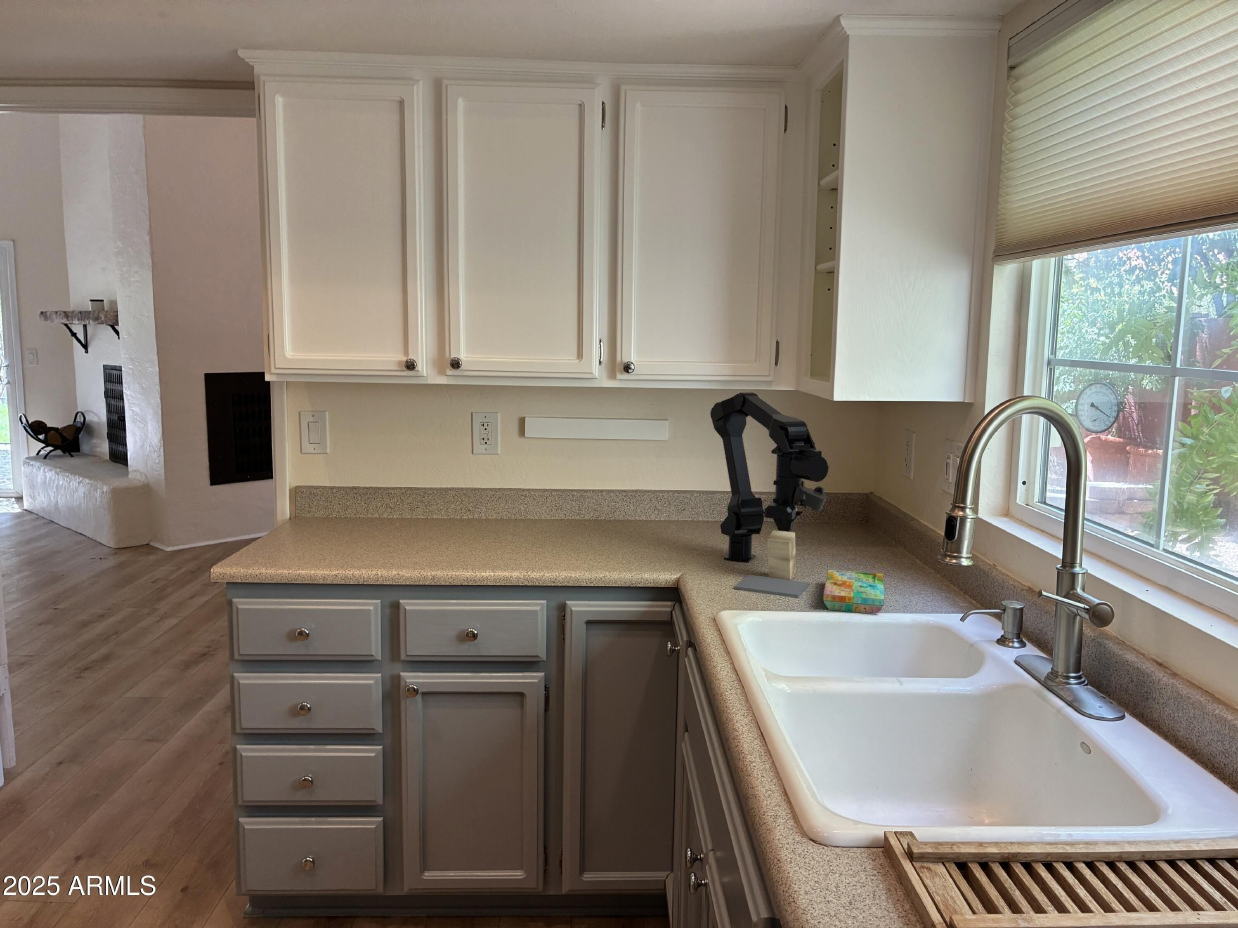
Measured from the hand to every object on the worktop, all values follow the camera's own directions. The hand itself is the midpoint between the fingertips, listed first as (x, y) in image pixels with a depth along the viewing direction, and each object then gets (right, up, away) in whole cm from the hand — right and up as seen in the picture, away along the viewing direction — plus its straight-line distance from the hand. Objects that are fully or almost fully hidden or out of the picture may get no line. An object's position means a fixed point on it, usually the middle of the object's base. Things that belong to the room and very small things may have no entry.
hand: (786, 543), depth 211 cm
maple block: (-1, -7, -1) cm, 7 cm away
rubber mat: (-4, -9, -8) cm, 13 cm away
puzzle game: (+11, -11, -17) cm, 23 cm away
